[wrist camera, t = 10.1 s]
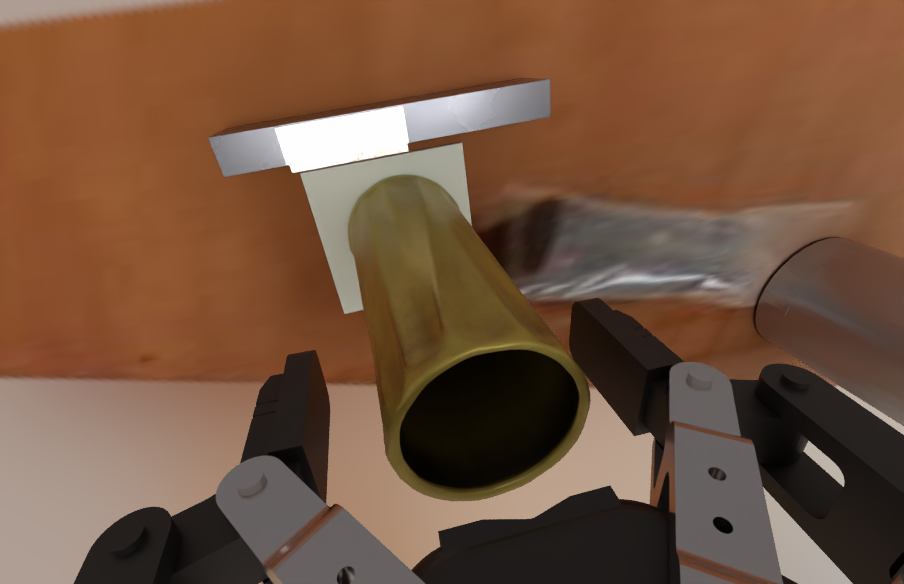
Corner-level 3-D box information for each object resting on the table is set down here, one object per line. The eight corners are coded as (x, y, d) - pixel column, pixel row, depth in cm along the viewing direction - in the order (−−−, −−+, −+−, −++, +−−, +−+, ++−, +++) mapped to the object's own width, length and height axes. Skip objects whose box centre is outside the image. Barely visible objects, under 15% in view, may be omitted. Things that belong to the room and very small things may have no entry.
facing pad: (460, 141, 21) (461, 142, 21) (477, 279, 25) (478, 281, 25) (300, 172, 20) (299, 173, 20) (344, 311, 24) (344, 314, 24)
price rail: (522, 78, 20) (553, 79, 18) (524, 119, 21) (553, 126, 18) (226, 128, 18) (206, 139, 16) (242, 171, 19) (226, 188, 16)
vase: (384, 150, 20) (461, 278, 8) (482, 210, 23) (654, 375, 11) (327, 254, 22) (317, 492, 10) (425, 298, 24) (515, 529, 12)
